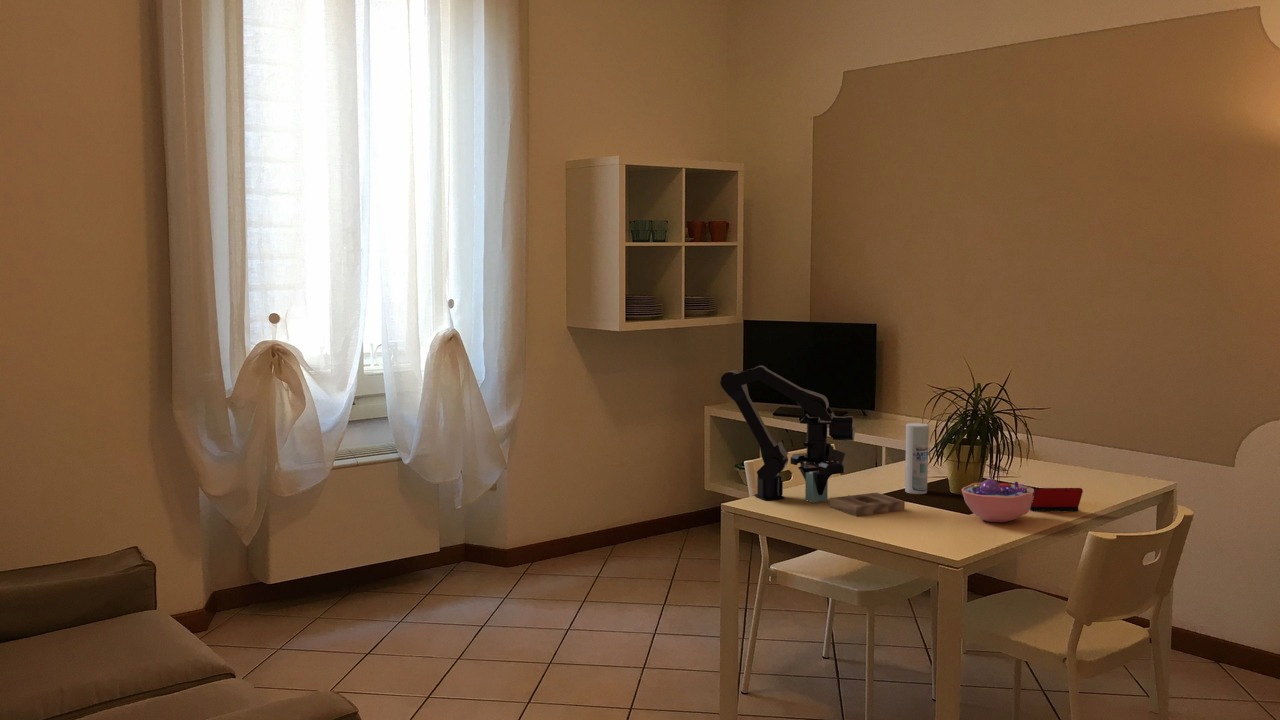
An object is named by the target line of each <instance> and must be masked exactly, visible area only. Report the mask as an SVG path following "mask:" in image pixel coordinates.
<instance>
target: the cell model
mask: <svg viewBox="0 0 1280 720" xmlns="http://www.w3.org/2000/svg"><path fill="white" fill-rule="evenodd" d="M961 493H962V496H963V499H964V502H965V504H966V505H967V507H968V508H969V510H970V511H971V512H972V513H973V514H974V515H975V516H976V517H978V518H980V519H981V520H983V521H985V522H991V523H1007V522H1010V521H1013V520H1017V519H1019V518H1020V517H1022V516H1025V515H1027V514H1028V513H1029V511H1031V510H1030V507H1031V504H1032V502H1033V497H1034V493H1035V490H1034V488H1033V487H1030V486H1026V485H1025V484H1022V483H1019V482H1018V481H1014V483H1006V482H1004V483H1003V482H998V481H997V480H995V479H994V478H987V479H985V480H983V481H982V482H973V483H971V484H969V485H967V486H964V487H962V488H961Z"/></svg>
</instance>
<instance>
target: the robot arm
mask: <svg viewBox="0 0 1280 720" xmlns="http://www.w3.org/2000/svg"><path fill="white" fill-rule="evenodd" d="M757 381H759V382H761V383H762V384H763V385H767V387H770V388H771V389H773V390H775V391H777V392H779V393H780V394H782V395H783V396H786V397H787V398H788V399H790V400H793V401H794V402H795V403H796V404H798V406H800V408H801V409H802V410H804V412H806V414H805V415H804V416H803V418H801V420H800V421H799V423H800V424H806V441H804V442H803V447H806V452H803V453H793V454H792V455H791V456H790V465H794V466H797V465H798V464H800V465H799V466H797V469H798V470H799V471H800V473H801V475H802V477H803V478H804V481H805V482H806V472H813V475H814V479H815V484H816V488H817V492H818V495H822V494H823V491H824V489H825V486H826V483H827V481H829V478H830V477H832V475H839V474H844V473H845V465H844V464H843V462H844V459H845V455H846V453H845V452H843V451H840V450H837V449H835V448H834V446H833V445H832V444H831V442H828V436H829V437H830V438H832V440H833V441H847V442H850V441H851V442H854V441H855V434H856V433H855V432H856V427H855V423H854V422H855V421H854V416H853V415H851V416H850V415H848V416H836V415H835V413H834V411H833V410H832V409H831V408H830V406H829V405H830V403H829V400H828V398H827V397H826V396H825V395H824V394H822V393H818V392H815V391H813V390H810V389H805V388H803V387H801V386H798V385H797V384H795V383H793V382H791V381H790V380H788V379H786V378H784V377H783V376H781V375H779V374H778V373H775V372H773V371H772V370H770V369H768V368H767V367H766V366H764V365H758V366H756V367H753V368H749V369H744V370H742V371H740V370H736V369H733V370H732V369H731V370H729V371H726V372H725V373H723V374H722V376H721V377H720V381H719V383H720V387H721V388H722V390H723V391H724V392H725V393H726V395H727V396H728V397H729V398H731V400H732V401H733V402H734V403H735V404H736V406H737V408H738V410H739V411H740V413H741V415H742V417H743V418H744V420H745V423H746V424H747V426H748V428H749V429H750V432H751V433H752V434H753V435H752V436H754V437H753V438H754V439H755V440H756V443H757V444H758V446H759V449H760V454H761V459H762V461H763V465H762V466H761V467H760V468H759V469H758V470H757V471H756V474H757V477H756V478H757V486H756V487H757V488H756V490H757V493H754V497H755V498H759V499H761V500H764V501H772V500H779V499H781V500H782V499H785V496H784V495H783V488H784V486H783V484H784V482H783V480H782V475H780V474H781V472H782V471H784V469H785V468H786V467H787V466H788V464H789V463H788V462H789V457H788V455H789V452H788V451H787V450H786V449H785V447H784V444H783V442H782V441H780V442H778V443H777V441H775V440H774V439H773V437H772V435H771V434H770V432H769V429H768V428H767V426H766V424H765V423H764V420H763V419H762V417H761V416H760V414H759V413H760V412H758V410H757V408H756V406H755V404H754V403H753V401H752V399H751V397H750V393H749V388H748V384H750V383H755V382H757ZM814 471H817V472H814Z"/></svg>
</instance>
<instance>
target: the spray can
mask: <svg viewBox="0 0 1280 720" xmlns="http://www.w3.org/2000/svg"><path fill="white" fill-rule="evenodd" d="M929 428H930V426H929V424H927V423H923V422H922V423H921V422H910V423H909V422H908V423H906V424H905V466H904V467H905V469H904V471H905V472H904V473H905V475H904V476H905V477H904V480H905V481H904V482H905V483H904V487H905V488H904V491H905V492H906V493H907V494H912V495H924V494H927V493H928V475H929V474H928V472H929V471H928V469H929V468H928V467H929V464H928V463H929V442H930V441H929V439H930V438H929V436H930V435H929V434H930V431H929V430H930V429H929Z"/></svg>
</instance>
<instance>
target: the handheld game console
mask: <svg viewBox="0 0 1280 720" xmlns="http://www.w3.org/2000/svg"><path fill="white" fill-rule="evenodd" d="M1083 492H1084V489H1083V488H1081V487H1039V488H1036V489H1035V490H1034V493H1033V501H1032V504H1031V507H1030V510H1029V511H1031V512H1068V513H1069V512H1071V513H1075V512H1076V513H1077V512H1078V511H1079V506H1080V504H1081V503H1080V502H1081V499H1082V496H1083Z"/></svg>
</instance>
